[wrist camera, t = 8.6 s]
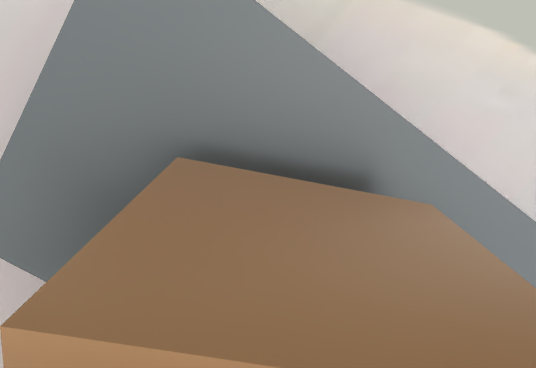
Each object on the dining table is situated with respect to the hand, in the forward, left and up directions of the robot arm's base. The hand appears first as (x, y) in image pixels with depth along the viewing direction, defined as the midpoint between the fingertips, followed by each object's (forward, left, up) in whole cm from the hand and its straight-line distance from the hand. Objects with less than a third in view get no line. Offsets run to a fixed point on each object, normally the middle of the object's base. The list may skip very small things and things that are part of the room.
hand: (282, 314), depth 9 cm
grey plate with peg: (0, 0, -5) cm, 5 cm away
